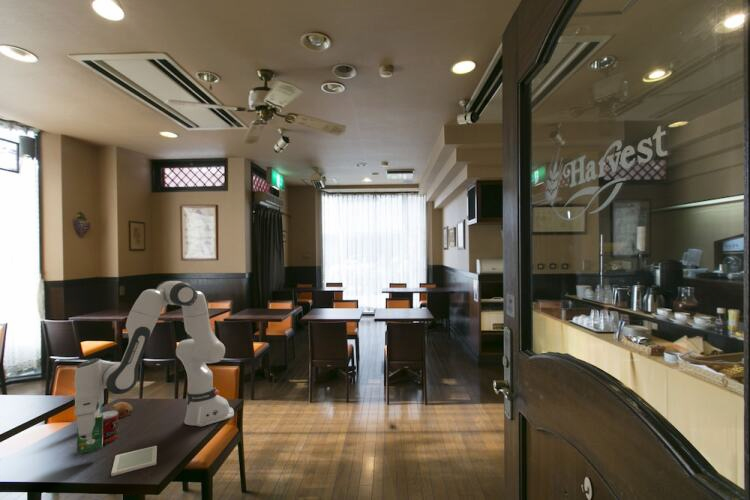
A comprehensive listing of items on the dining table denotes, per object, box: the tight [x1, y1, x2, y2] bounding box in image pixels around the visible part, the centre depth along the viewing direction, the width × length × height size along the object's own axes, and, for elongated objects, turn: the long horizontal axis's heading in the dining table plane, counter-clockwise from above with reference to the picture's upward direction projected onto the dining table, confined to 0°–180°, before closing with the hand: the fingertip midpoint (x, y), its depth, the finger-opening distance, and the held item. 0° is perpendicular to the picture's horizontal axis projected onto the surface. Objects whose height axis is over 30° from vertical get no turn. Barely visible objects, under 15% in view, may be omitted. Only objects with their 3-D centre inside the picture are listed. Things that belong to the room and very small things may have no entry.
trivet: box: [110, 445, 158, 477], centre depth 138 cm, size 14×14×1 cm
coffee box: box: [76, 414, 103, 455], centre depth 139 cm, size 8×3×13 cm, turn 121°
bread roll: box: [108, 401, 133, 419], centre depth 180 cm, size 10×10×8 cm
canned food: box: [99, 411, 119, 444], centre depth 155 cm, size 8×8×11 cm
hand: (90, 436), depth 139 cm, fingers closed on coffee box, 3 cm apart
